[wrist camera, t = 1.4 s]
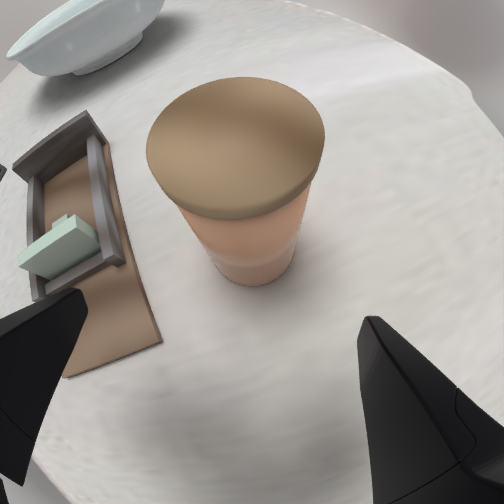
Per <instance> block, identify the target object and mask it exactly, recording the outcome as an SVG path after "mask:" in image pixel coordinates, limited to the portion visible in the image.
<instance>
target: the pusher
mask: <svg viewBox="0 0 504 504" xmlns="http://www.w3.org/2000/svg"><path fill="white" fill-rule="evenodd" d="M100 251H102V250H101V246H100V241H99V236H98V231H96V230H95V229H94V228H92V227H91V226H90V225H88V224H87V223H86V222H84V221H83V220H82V219H81V218H79V217H78V216H77V215H75V214H74V215H73V216H69V215H68V214H65V215H64V216H62V217H61V218H59V219H58V220H57V221H55V222H54V223H52V230H50V231H49V232H48V233H46V234H45V235H43V236H42V237H40V238H39V239H38V240H36V241H35V242H34V243H32V244H31V245H30V246H28V247H27V248H26V249H24V250H23V251H22V252H20V253H19V254H18V263H19V267H20V268H23V269H25V270H27V271H30V272H32V273H34V274H37V275H39V276H42V277H44V278H47V279H49V280H52V279H54V278H56V277H57V276H59V275H61V274H62V273H64V272H66V271H67V270H69V269H71V268H72V267H74V266H76V265H77V264H79V263H81V262H83V261H84V260H86V259H88V258H90V257H91V256H93V255H95V254H97V253H98V252H100Z"/></svg>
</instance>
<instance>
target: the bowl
mask: <svg viewBox="0 0 504 504" xmlns="http://www.w3.org/2000/svg"><path fill="white" fill-rule="evenodd" d="M163 4H164V0H70V1H68V2H67V3H65V4H63V5H62V6H60V7H59V8H57V9H56V10H54V11H53V12H51V13H50V14H49V15H47V16H46V17H44V18H43V19H42V20H41V21H39V22H38V23H37V24H36V25H35V26H33V27H32V28H31V29H30V30H28V31H27V32H26V33H25V34H24V35H23V36H22V37H21V38H20V39H19V40H18V41H17V42H16V43H15V44H14V45H13V46H12V48H11V49H10V50H9V51H8V53H7V56H6V58H7V59H8V60H17V61H19V62H20V63H21V64H23V65H24V66H25V67H26V68H27V69H29V70H30V71H31V72H33V73H35V74H38V75H41V76H58V75H63V74H67V73H70V72H72V73H73V74H75V75H85V74H88V73H91V72H94V71H96V70H99V69H101V68H103V67H105V66H107V65H109V64H110V63H112V62H114V61H116V60H117V59H119V58H120V57H122V56H123V55H125V54H126V53H128V52H129V51H130V50H132V49H133V48H134V47H135V46H136V45H137V44H138V43H139V42H140V41H141V39H142V37H143V33H142V31H143V30H144V29H145V28H146V27H147V26H149V25H150V23H151V22H152V21H153V20H154V19H155V18H156V17H157V15H158V14H159V12H160V10H161V8H162V6H163Z"/></svg>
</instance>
